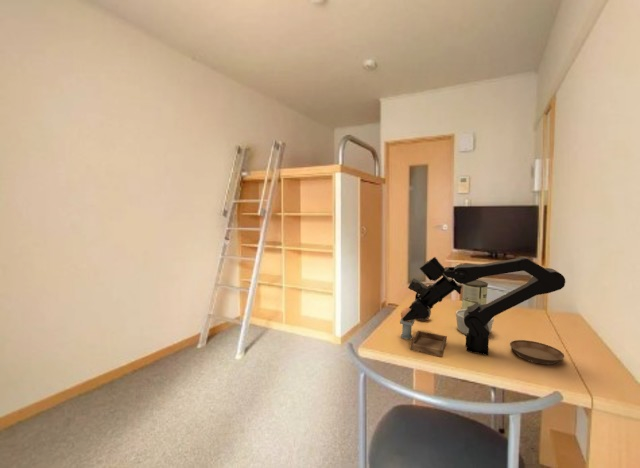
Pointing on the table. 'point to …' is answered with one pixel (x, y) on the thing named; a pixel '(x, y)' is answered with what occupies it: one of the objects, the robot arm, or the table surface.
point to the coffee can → (474, 293)
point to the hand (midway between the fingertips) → (405, 315)
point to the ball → (405, 313)
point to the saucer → (536, 352)
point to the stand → (406, 329)
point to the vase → (425, 318)
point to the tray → (429, 343)
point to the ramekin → (462, 325)
